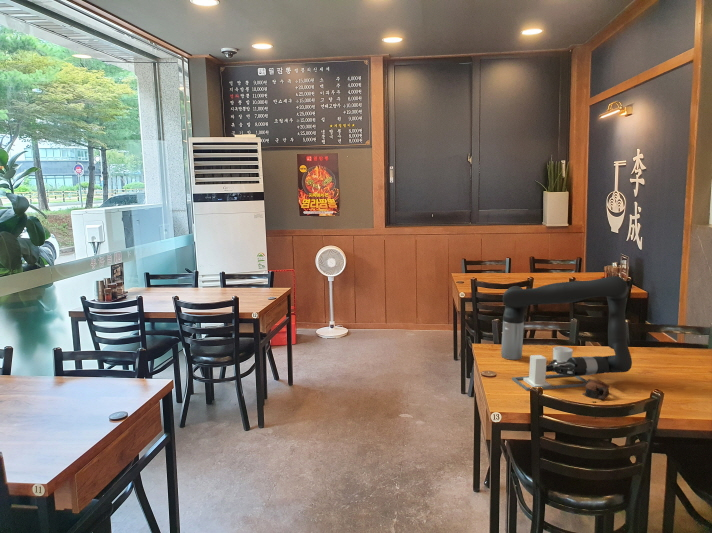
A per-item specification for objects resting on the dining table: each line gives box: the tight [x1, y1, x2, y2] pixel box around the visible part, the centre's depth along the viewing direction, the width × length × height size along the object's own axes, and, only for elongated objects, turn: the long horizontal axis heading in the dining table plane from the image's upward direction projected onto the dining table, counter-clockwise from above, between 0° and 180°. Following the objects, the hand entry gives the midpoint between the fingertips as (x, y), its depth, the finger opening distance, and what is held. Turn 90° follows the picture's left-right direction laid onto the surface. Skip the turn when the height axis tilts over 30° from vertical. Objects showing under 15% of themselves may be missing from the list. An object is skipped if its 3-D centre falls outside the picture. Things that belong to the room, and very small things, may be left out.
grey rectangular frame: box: [511, 373, 588, 392], centre depth 212 cm, size 12×28×2 cm, turn 101°
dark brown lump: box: [582, 378, 610, 404], centre depth 199 cm, size 12×10×8 cm
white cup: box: [552, 346, 574, 362], centre depth 229 cm, size 8×8×10 cm
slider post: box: [522, 354, 552, 387], centre depth 210 cm, size 9×7×11 cm
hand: (542, 368), depth 210 cm, fingers closed
